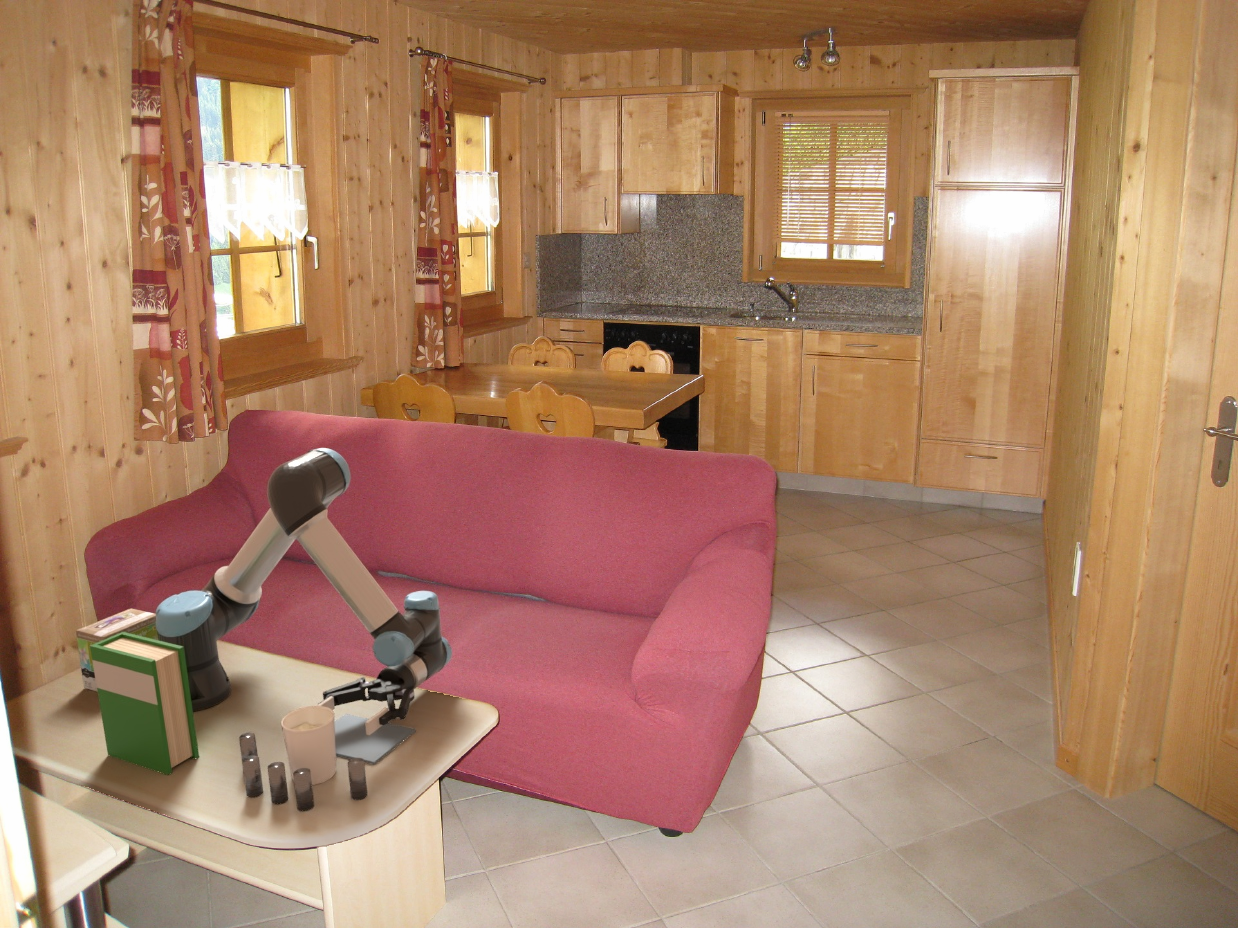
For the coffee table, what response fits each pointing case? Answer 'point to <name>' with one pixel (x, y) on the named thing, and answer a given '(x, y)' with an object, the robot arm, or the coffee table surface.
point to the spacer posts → (300, 776)
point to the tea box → (106, 628)
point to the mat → (367, 739)
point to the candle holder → (311, 741)
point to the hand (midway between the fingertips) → (339, 722)
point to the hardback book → (145, 701)
